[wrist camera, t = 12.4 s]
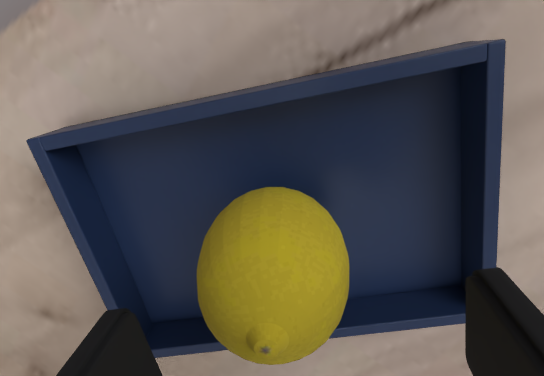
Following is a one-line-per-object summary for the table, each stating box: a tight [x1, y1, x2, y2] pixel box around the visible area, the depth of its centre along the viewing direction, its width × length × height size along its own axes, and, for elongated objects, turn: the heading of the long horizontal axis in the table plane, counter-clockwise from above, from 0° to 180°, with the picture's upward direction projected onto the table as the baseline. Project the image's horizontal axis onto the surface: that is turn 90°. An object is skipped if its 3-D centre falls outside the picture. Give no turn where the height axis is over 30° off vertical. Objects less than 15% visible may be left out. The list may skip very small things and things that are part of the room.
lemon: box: [197, 187, 349, 365], centre depth 13 cm, size 6×6×8 cm
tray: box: [27, 39, 506, 358], centre depth 16 cm, size 18×12×3 cm
